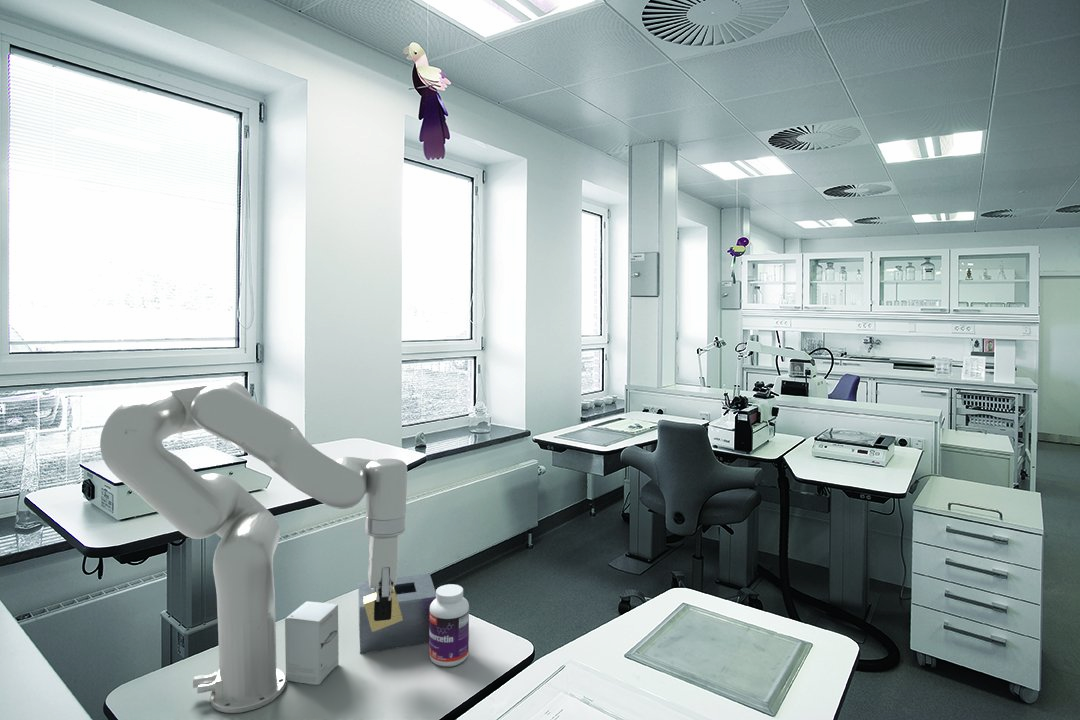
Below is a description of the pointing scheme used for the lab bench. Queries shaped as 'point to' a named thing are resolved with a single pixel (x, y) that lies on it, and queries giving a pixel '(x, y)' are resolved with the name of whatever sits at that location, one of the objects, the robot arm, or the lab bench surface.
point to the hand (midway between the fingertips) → (382, 614)
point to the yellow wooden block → (377, 625)
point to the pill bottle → (449, 626)
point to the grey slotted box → (415, 614)
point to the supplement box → (311, 642)
